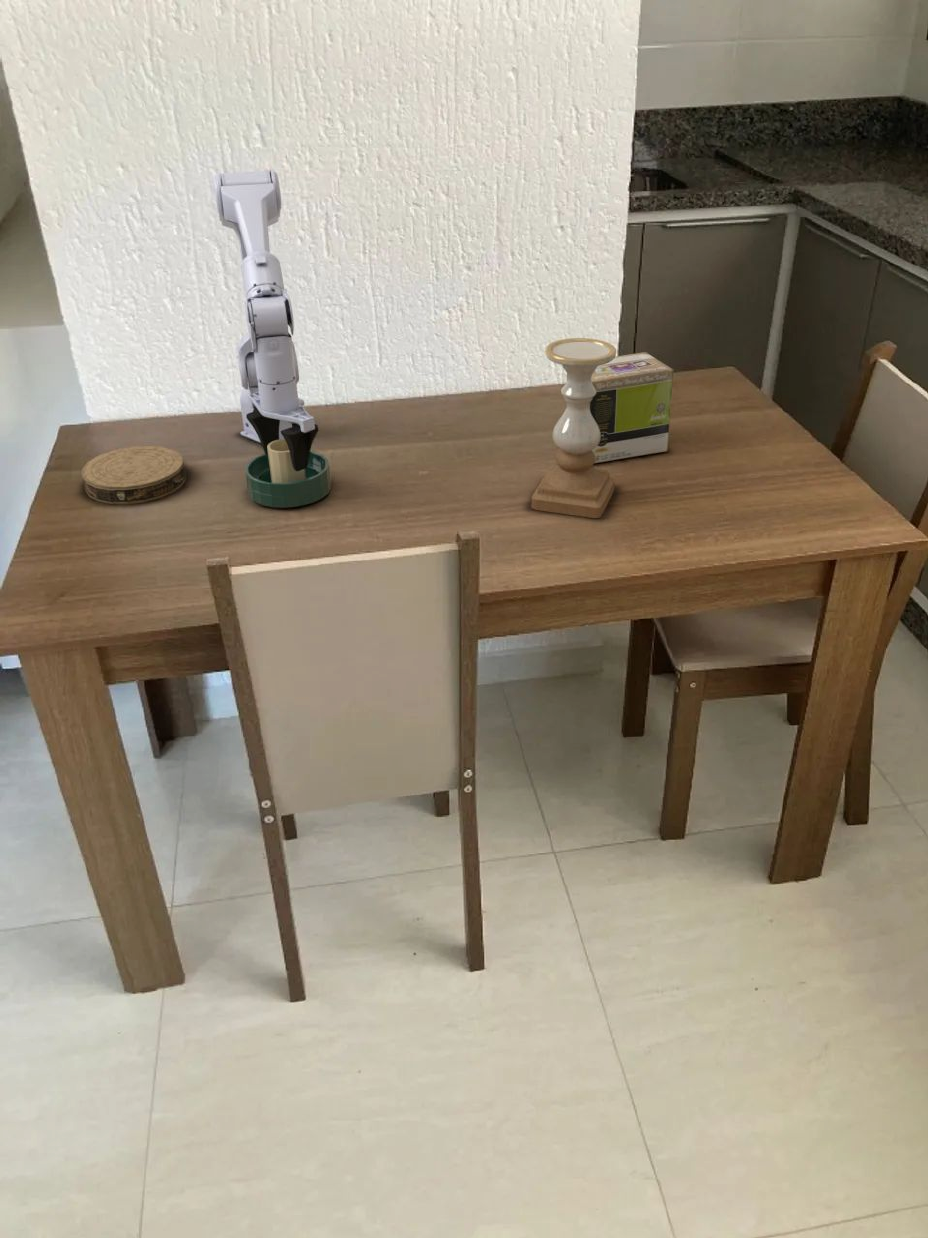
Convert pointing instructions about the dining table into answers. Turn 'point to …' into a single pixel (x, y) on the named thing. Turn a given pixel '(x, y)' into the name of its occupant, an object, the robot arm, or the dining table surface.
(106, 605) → the dining table surface
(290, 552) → the dining table surface
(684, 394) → the dining table surface
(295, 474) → the cup
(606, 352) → the candle holder
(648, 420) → the tea box
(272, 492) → the bowl
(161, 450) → the round wood slice
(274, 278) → the robot arm
